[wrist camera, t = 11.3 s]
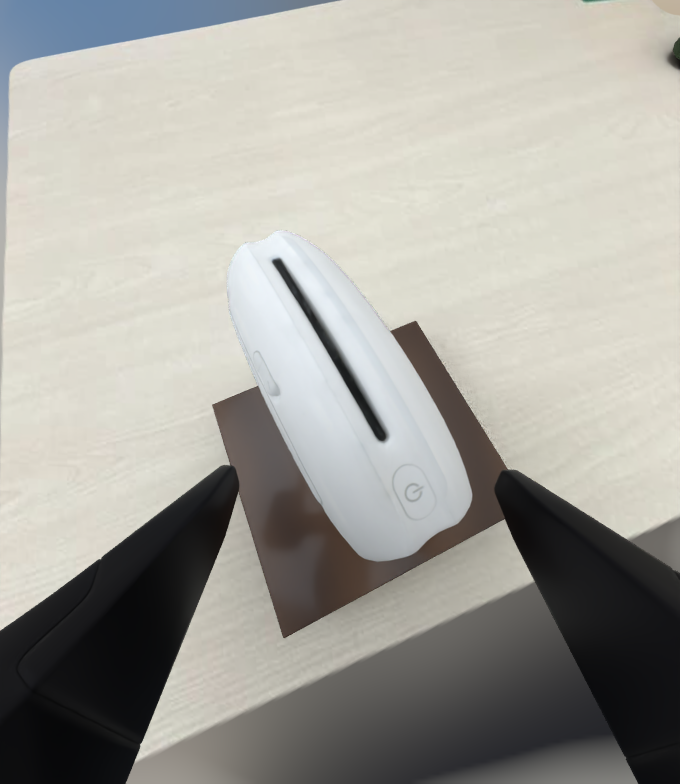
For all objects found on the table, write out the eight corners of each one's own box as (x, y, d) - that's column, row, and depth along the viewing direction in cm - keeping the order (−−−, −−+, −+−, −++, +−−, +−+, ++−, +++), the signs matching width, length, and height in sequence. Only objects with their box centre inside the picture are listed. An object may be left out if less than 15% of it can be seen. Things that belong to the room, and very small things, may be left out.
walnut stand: (292, 613, 16) (283, 639, 14) (227, 411, 20) (211, 404, 18) (505, 499, 18) (530, 505, 16) (407, 335, 22) (416, 320, 20)
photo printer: (403, 477, 16) (575, 516, 4) (347, 511, 16) (364, 666, 4) (330, 353, 19) (311, 163, 7) (280, 379, 18) (163, 219, 6)
